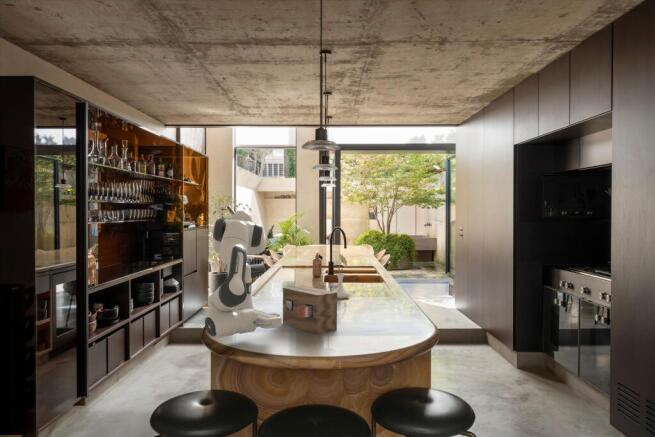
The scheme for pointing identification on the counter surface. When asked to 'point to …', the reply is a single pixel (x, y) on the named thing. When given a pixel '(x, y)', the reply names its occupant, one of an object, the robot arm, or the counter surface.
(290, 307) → the plunger left
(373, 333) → the counter surface
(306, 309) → the plunger right
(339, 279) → the flower in vase
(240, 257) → the robot arm
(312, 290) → the button panel
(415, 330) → the counter surface
